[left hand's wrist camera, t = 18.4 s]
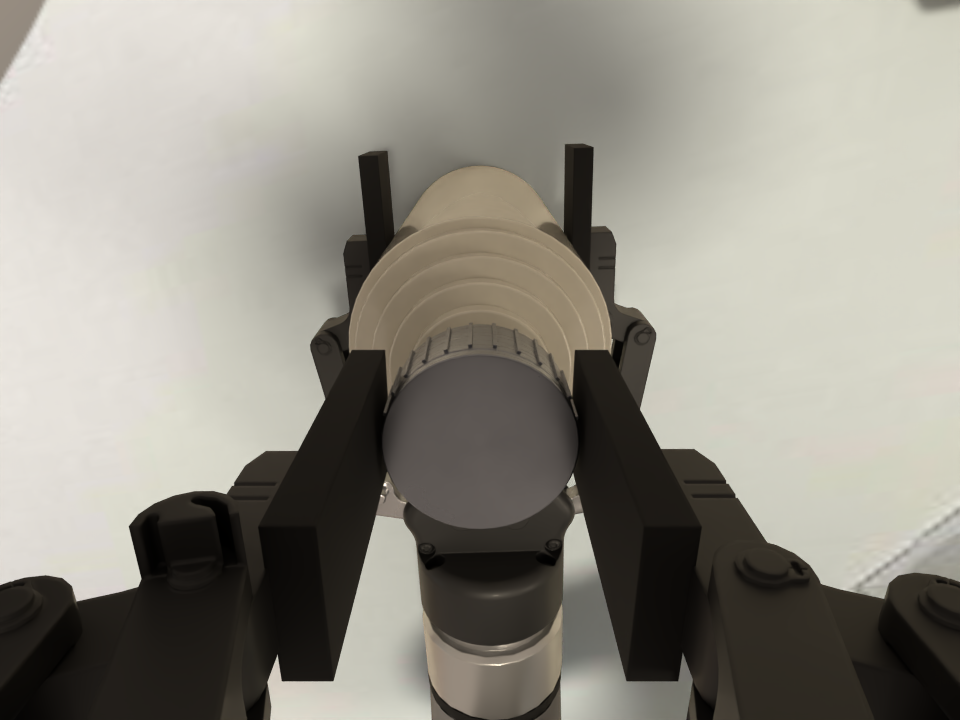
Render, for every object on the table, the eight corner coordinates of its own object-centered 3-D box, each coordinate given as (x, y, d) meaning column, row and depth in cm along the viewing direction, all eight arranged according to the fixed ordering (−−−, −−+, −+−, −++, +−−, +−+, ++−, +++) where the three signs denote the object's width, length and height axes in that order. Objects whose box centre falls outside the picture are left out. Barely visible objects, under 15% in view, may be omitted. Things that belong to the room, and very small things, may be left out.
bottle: (576, 268, 34) (712, 494, 14) (453, 332, 35) (418, 623, 15) (509, 136, 31) (561, 185, 12) (380, 211, 33) (228, 371, 13)
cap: (442, 287, 14) (436, 314, 12) (604, 374, 14) (622, 411, 13) (360, 436, 15) (344, 480, 13) (513, 508, 16) (517, 560, 14)
